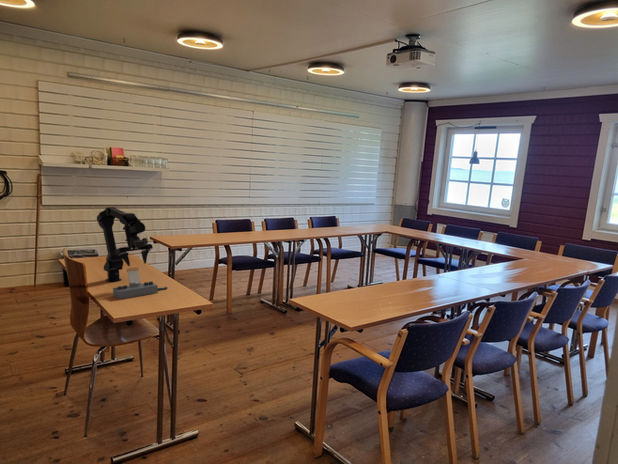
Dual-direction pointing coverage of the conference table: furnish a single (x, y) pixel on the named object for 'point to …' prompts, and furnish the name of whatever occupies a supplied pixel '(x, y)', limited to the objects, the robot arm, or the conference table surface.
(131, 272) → the lever
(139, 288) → the breaker box
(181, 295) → the conference table surface
